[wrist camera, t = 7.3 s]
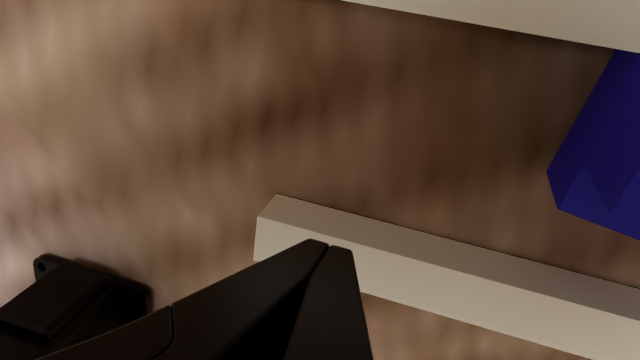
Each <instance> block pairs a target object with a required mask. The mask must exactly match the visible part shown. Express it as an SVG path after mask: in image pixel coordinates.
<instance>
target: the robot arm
mask: <svg viewBox="0 0 640 360" xmlns="http://www.w3.org/2000/svg"><path fill="white" fill-rule="evenodd" d="M33 266H34V273H35V280H36V282H35V283H34V284H32V285H31V286H29V287H28V288H27V289H25V290H24V291H23V292H21V293H20V294H19V295H17V296H16V297H15V298H13V299H12V300H11V301H9V302H8V303H6V304H5V305H4V306H2V307H1V308H0V360H374V359H373V354H372V349H371V343H370V338H369V333H368V328H367V323H366V318H365V313H364V308H363V303H362V298H361V293H360V288H359V282H358V277H357V272H356V267H355V262H354V257H353V253H352V251H351V250H350V249H347V248H343V247H340V246H336V245H331V246H329V244H328V243H325V242H322V241H318V240H315V239H306V240H304V241H302V242H300V243H298V244H296V245H294V246H292V247H289V248H287V249H285V250H283V251H281V252H279V253H277V254H275V255H273V256H271V257H268V258H266V259H264V260H262V261H260V262H258V263H256V264H254V265H252V266H250V267H247V268H245V269H243V270H241V271H239V272H237V273H235V274H233V275H231V276H229V277H226V278H224V279H222V280H220V281H218V282H216V283H214V284H212V285H210V286H208V287H206V288H203V289H201V290H199V291H197V292H195V293H193V294H191V295H189V296H187V297H185V298H182V299H180V300H178V301H176V302H174V303H172V305H171V306H170V305H167V306H165V307H163V308H161V309H159V310H157V311H155V312H153V313H151V293H150V291H149V290H148V289H147V288H146V287H144V286H142V285H140V284H137V283H133V282H130V281H127V280H124V279H121V278H118V277H115V276H111V275H108V274H105V273H102V272H99V271H96V270H93V269H89V268H86V267H83V266H80V265H77V264H74V263H71V262H68V261H64V260H61V259H58V258H55V257H52V256H49V255H44V254H43V255H41V256H39V257H38V258H36V259H35V260H34V261H33ZM139 295H140V296H139Z"/></svg>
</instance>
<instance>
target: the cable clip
mask: <svg viewBox="0 0 640 360" xmlns="http://www.w3.org/2000/svg"><path fill="white" fill-rule="evenodd" d="M546 173H547V176H548V179H549V183H550V186H551V189H552V192H553V196H554V199H555V202H556V205H557V209H559V210H562V211H564V212H567V213H570V214H572V215H575V216H577V217H580V218H583V219H585V220H588V221H590V222H593V223H596V224H598V225H601V226H603V227H606V228H609V229H611V230H614V231H616V232H619V233H622V234H624V235H627V236H630V237H632V238H635V239H637V240H640V53H636V52H630V51H625V50H619V49H616V50H615V52H614V54H613V56H612V57H611V59H610V61H609V63H608V64H607V66H606V68H605V70H604V71H603V73H602V75H601V77H600V78H599V80H598V82H597V84H596V85H595V87H594V89H593V91H592V92H591V94H590V96H589V98H588V99H587V101H586V103H585V105H584V106H583V108H582V110H581V112H580V113H579V115H578V117H577V119H576V120H575V122H574V124H573V126H572V127H571V129H570V131H569V133H568V134H567V136H566V138H565V140H564V141H563V143H562V145H561V147H560V148H559V150H558V152H557V154H556V155H555V157H554V159H553V161H552V162H551V164H550V166H549V168H548V169H547V171H546Z"/></svg>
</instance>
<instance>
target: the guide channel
mask: <svg viewBox="0 0 640 360" xmlns="http://www.w3.org/2000/svg"><path fill="white" fill-rule="evenodd" d="M343 1H348V2H354V3H360V4H365V5H371V6H377V7H382V8H388V9H394V10H399V11H405V12H410V13H416V14H422V15H427V16H433V17H439V18H444V19H450V20H456V21H461V22H467V23H472V24H478V25H484V26H489V27H495V28H501V29H506V30H512V31H518V32H523V33H529V34H534V35H540V36H546V37H551V38H557V39H563V40H568V41H574V42H580V43H585V44H591V45H596V46H602V47H608V48H613V49H619V50H625V51H630V52H636V53H640V0H343ZM306 239H315V240H318V241H322V242H325V243H328V244H329V246H331V245H336V246H340V247H343V248H347V249H350V250H351V251H352V253H353V257H354V262H355V267H356V272H357V277H358V282H359V288H360V292H363V293H367V294H370V295H374V296H377V297H381V298H384V299H387V300H391V301H394V302H398V303H401V304H404V305H408V306H411V307H415V308H418V309H421V310H425V311H428V312H432V313H435V314H439V315H442V316H445V317H449V318H452V319H456V320H459V321H462V322H466V323H469V324H473V325H476V326H479V327H483V328H486V329H490V330H493V331H496V332H500V333H503V334H507V335H510V336H514V337H517V338H520V339H524V340H527V341H531V342H534V343H537V344H541V345H544V346H548V347H551V348H554V349H558V350H561V351H565V352H568V353H572V354H575V355H578V356H582V357H585V358H589V359H592V360H640V289H637V288H633V287H630V286H626V285H622V284H618V283H614V282H611V281H607V280H603V279H599V278H595V277H592V276H588V275H584V274H580V273H576V272H572V271H569V270H565V269H561V268H557V267H553V266H550V265H546V264H542V263H538V262H534V261H531V260H527V259H523V258H519V257H515V256H512V255H508V254H504V253H500V252H496V251H493V250H489V249H485V248H481V247H477V246H474V245H470V244H466V243H462V242H458V241H454V240H451V239H447V238H443V237H439V236H435V235H432V234H428V233H424V232H420V231H416V230H413V229H409V228H405V227H401V226H397V225H394V224H390V223H386V222H382V221H378V220H375V219H371V218H367V217H363V216H359V215H356V214H352V213H348V212H344V211H340V210H337V209H333V208H329V207H325V206H321V205H317V204H314V203H310V202H306V201H302V200H298V199H295V198H291V197H287V196H283V195H279V194H276V195H275V196H274V197H273V198H272V199H271V201H270V202H269V203H268V204H267V205H266V207H265V208H264V209H263V210H262V211H261V212H260V214H259V215H258V216H257V224H256V235H255V246H254V257H253V260H254V261H258V262H260V261H262V260H264V259H266V258H268V257H271V256H273V255H275V254H277V253H279V252H281V251H283V250H285V249H287V248H289V247H292V246H294V245H296V244H298V243H300V242H302V241H304V240H306Z"/></svg>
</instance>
